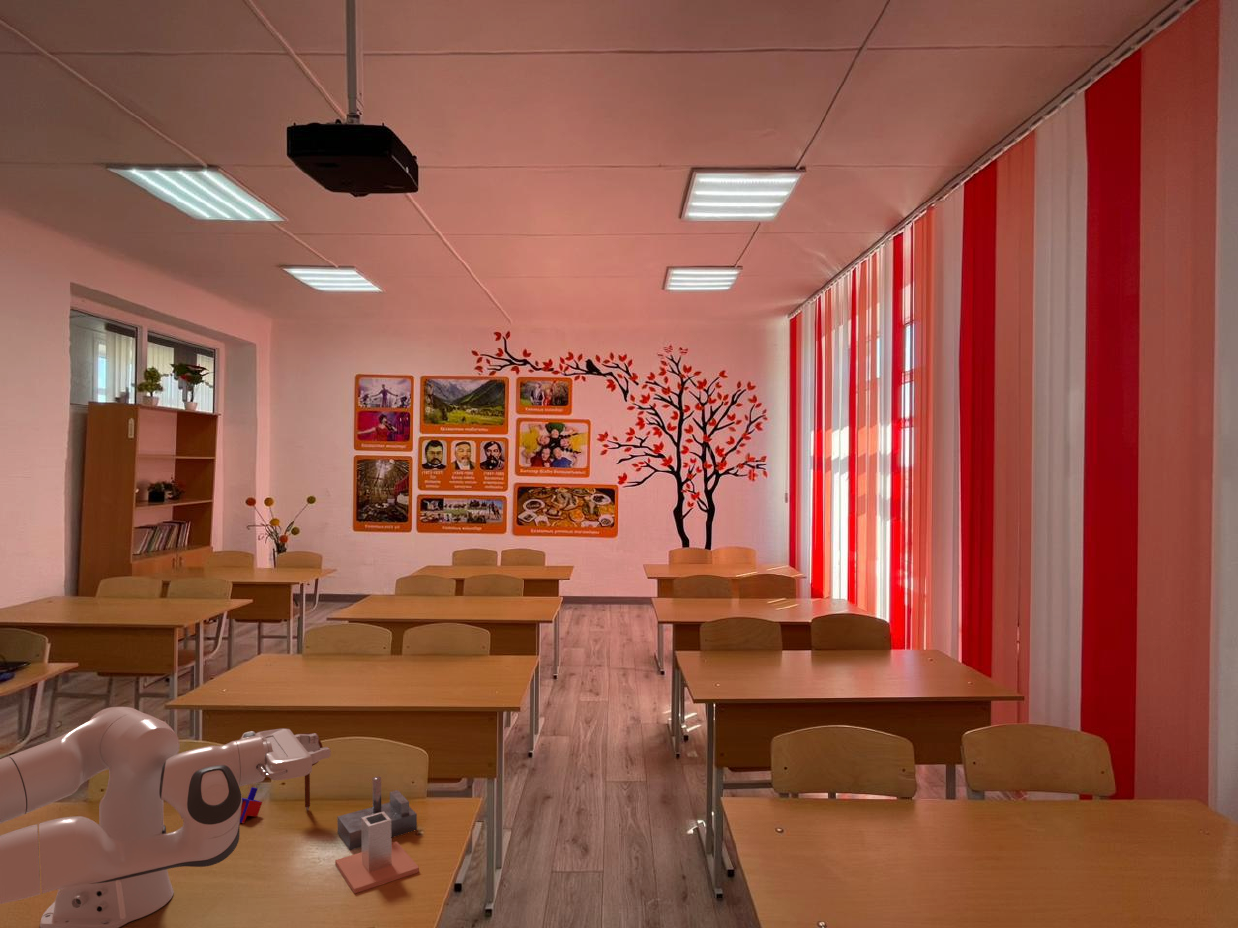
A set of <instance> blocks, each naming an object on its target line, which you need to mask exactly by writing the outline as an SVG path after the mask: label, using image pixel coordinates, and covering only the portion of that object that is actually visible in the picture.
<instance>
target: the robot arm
mask: <svg viewBox="0 0 1238 928" xmlns="http://www.w3.org/2000/svg"><path fill="white" fill-rule="evenodd" d="M318 738H319V735H318V733H315V732H314V733H311V734H309V735H308V734H302V733H297V734H294V733H293V731H292V730H291V729H290V728H276V729H269V730H263V731H258V732H255V731H252V730H251V731H247V732H244V733H242V736H241V737H240V738H239V739H236V740H232V741H230V742H227V743H226V744H221V745H208V746H207V745H206V746H201V747H197V748H194V749H190V750H186V751H182V752H180V739H179V737H178V735H177V733H176V732H175V731H174V730H173V728H172V727H171V726H170V725H169V724H168V723H167V722H165V721H163V720H161V719H159V718H158V717H155V716H153V715H150V714H148V713H145V712H142V711H140V710H138V709H136V708H134V707H129V706H113V707H112V706H111V707H106V708H103V709H101V710H100V711H98V712H96V713H95V714H94V715H92V717H91V718H89V720H88V721H85V722H84V723H83V724H81V725H79V726H77V727H75V728H74V729H71V730H69V731H68V732H66V733H65V734H62V735H60V736H58V737H56V738H53V739H51V740H49V741H46V742H43V743H41V744H38V745H36V746H35V745H34V746H32V747H30V748H27V749H23V750H21V751H19V752H16V753H13V754H11V755H7V756H5V757H3V758H0V824H3V823H6V822H9V821H11V820H14V819H16V818H19V817H21V816H24V815H26V814H28V813H31V812H34V811H36V810H38V809H42V808H43V807H46V806H48V805H51V804H53V803H56V802H57V801H60V800H62V799H65V798H68V797H70V796H71V795H73V794H75V793H76V792H77V791H78V789H79V788H80V786H81V785H83V784H84V783H85V782H87V781H88V780H90V779H92V778H94V777H95V776H97V775H98V774H99V773H101V772H103V771H107V770H108V773H109V774H108V775H109V777H108V781H107V782H108V783H107V787H106V791H105V793H104V795H103V797H102V798H101V800H100V801H99V804H98V805H99V807H98V809H99V810H98V811H99V812H98V813H99V815H98V818H99V819H98V820H99V824H98V823H97V822H95V821H94V820H92V819H91V818H88V817H85V816H82V815H81V816H80V815H79V816H77V815H76V816H66V817H60V818H54V819H51V820H46V821H43V822H40V823H36V824H32V825H29V826H24V827H22V828H18V829H16V830H12V831H9V832H6V833H3V834H0V905H1V904H7V903H11V902H15V901H16V902H17V901H20V900H24V899H28V898H32V897H36V896H39V895H41V894H45V893H50V892H53V891H56V890H57V894H56V896H55V899H54V902H52V904H51V905H50V906H49V907H47V909H46V910H45V911H44V912H43V914H42V916H41V917H40V918H41V919H40V921H39V922H40V923H39V927H40V928H121V927H122V926H124V925H126V924H128V923H130V922H133V921H135V920H138V919H141V918H144V917H146V916H148V915H151V914H153V913H155V912H156V911H158V910H160V909H161V908H163V907H164V906H166V904H167V903H168V902H169V901H170V900H171V899H172V898H173V895H174V888H173V886H172V882H171V880H170V876H169V872H168V870H169V869H173V868H180V867H181V868H183V867H191V868H192V867H194V868H196V867H197V868H199V867H200V868H203V867H211V866H214V865H217V864H220V863H221V862H222V861H224V860H226V859H227V858H228V857H229V856H231V854H233V852H234V851H235V849H236V848H237V846H238V844H239V841H240V834H241V832H240V816H241V806H242V798H243V797H242V795H243V794H242V792H241V789H240V787H242V786H243V787H244V786H247V785H251V784H255V783H260V782H263V781H264V780H265V778H266V777H268V778H269V779H270V780H272V781H283V780H290V779H295V778H301V777H305V776H306V775H308V774H309V773H310V774H311V773H312V772H313V766H312V764H315V763H316V762H318V761H319V762H320V761H321V760H323V759H328V758H330V757H331V755H332V754H331V753H332V752H331V749H330V748H329V747H328V746H325V747H323V748H320V750H318V751H315V752H313V751H312V752H307V750H306V749H305V748H304V747H303V744H310V745H312V744H316V743H318V741H319V740H320V739H319V740H318ZM179 752H180V753H179ZM319 762H318V763H319ZM315 765H316V764H315ZM164 802H167V803H168V804H170V805H171V806H172V807H173V808H174V810H175V811H176V812H177V813H178V814H179V816H180V818H181V820H183V826H181V827H180V828H179V829H176V830H175V831H171V832H167V828H166V827H167V826H166V825H165V824H164Z"/></svg>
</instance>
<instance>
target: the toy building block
mask: <svg viewBox="0 0 1238 928" xmlns="http://www.w3.org/2000/svg"><path fill="white" fill-rule="evenodd" d="M249 791H250V792H249V794H248V797H247V798H244V797H242V806H241V816H240V822H239V824H245V823H246V821H247V820H246V819H247V817H255V818H256V817H258V816H259V812H260V810H261V807H262V804H263V801H260V800H257V799H255V797H256V794H257V792H258V788H257V787H253V786H252V787H251V788H250V790H249Z"/></svg>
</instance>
